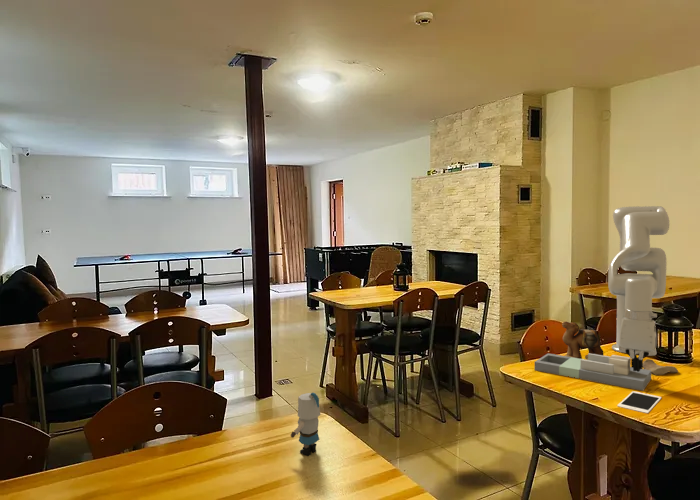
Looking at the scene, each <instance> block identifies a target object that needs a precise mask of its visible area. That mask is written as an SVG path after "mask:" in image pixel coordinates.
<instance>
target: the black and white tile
mask: <svg viewBox="0 0 700 500" xmlns="http://www.w3.org/2000/svg"><path fill="white" fill-rule="evenodd" d="M660 400H662V396H658V395H654V394H648V393H643V392H639V391H633V390H632V391H631V392H630V393H629V394H628V395H627V396H626V397H625V398H623V399H622V401H620V402H619V403H618V404H617V405H616V406H617V407H619V408H621V409H622V408H623V409H626V410H629V411H630V410H631V411H634V412H638V413H643V414H649V413H650V412H651V411H652V410H653V408H654V407H655V406H656V405H657V404H658V403H659V402H661V401H660Z"/></svg>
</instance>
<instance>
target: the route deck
mask: <svg viewBox="0 0 700 500" xmlns="http://www.w3.org/2000/svg"><path fill="white" fill-rule="evenodd" d="M587 355H588V359H586V358H585V359H584V358H582V359H579V358H573V357H567V356H565V355H560V354H554V353H546V354H545V355H543V356H542V357H540V358H538V359H536V360H535V361H534V371H539V372H543V373H549V374H554V375H559V376H564V377H568V376H569V377H570V378H574V377H575V379H579V378H580V380H585V381H590V382H596V383H600V384H606V385H610V386H611V385H612V386H616V387H621V388H626V389H632V390H637V391H645V389H646V387H647V385H649V383H650V381H651V380H652V374H651V370H646V369H644V368H642V369H640V371H639V372H637V371H633V368H632V367H631V366H630V372H629V373H628V375H625V374H619V373H614V364H609V358H610V357H611V356H608V355H604V354H603V355H597V354H590V353H589V352H588V354H587Z"/></svg>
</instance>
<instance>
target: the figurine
mask: <svg viewBox="0 0 700 500" xmlns="http://www.w3.org/2000/svg"><path fill="white" fill-rule="evenodd" d="M561 325H562V328H563V329H566V330H565V331H564V333H563V336H562V341H563V343H564V344H565V345H566V346H567V351H566V354H565V355H564V356H567V357H573V358H579V359H583V357H582V353H581V350H580V349H587V350H588V354H589V353H590V354H597V355H603V356H604V350H603V348H602V347H601V342H600V339H599V335H598V333H597V332H598V331H596V330H595V329H585V328H580V327H579V324H578V323H576V322H574V321H573V322H572V321H571V322H569V321H563V322H562V324H561ZM588 354H585V356H584V358H585V360H588Z"/></svg>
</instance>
